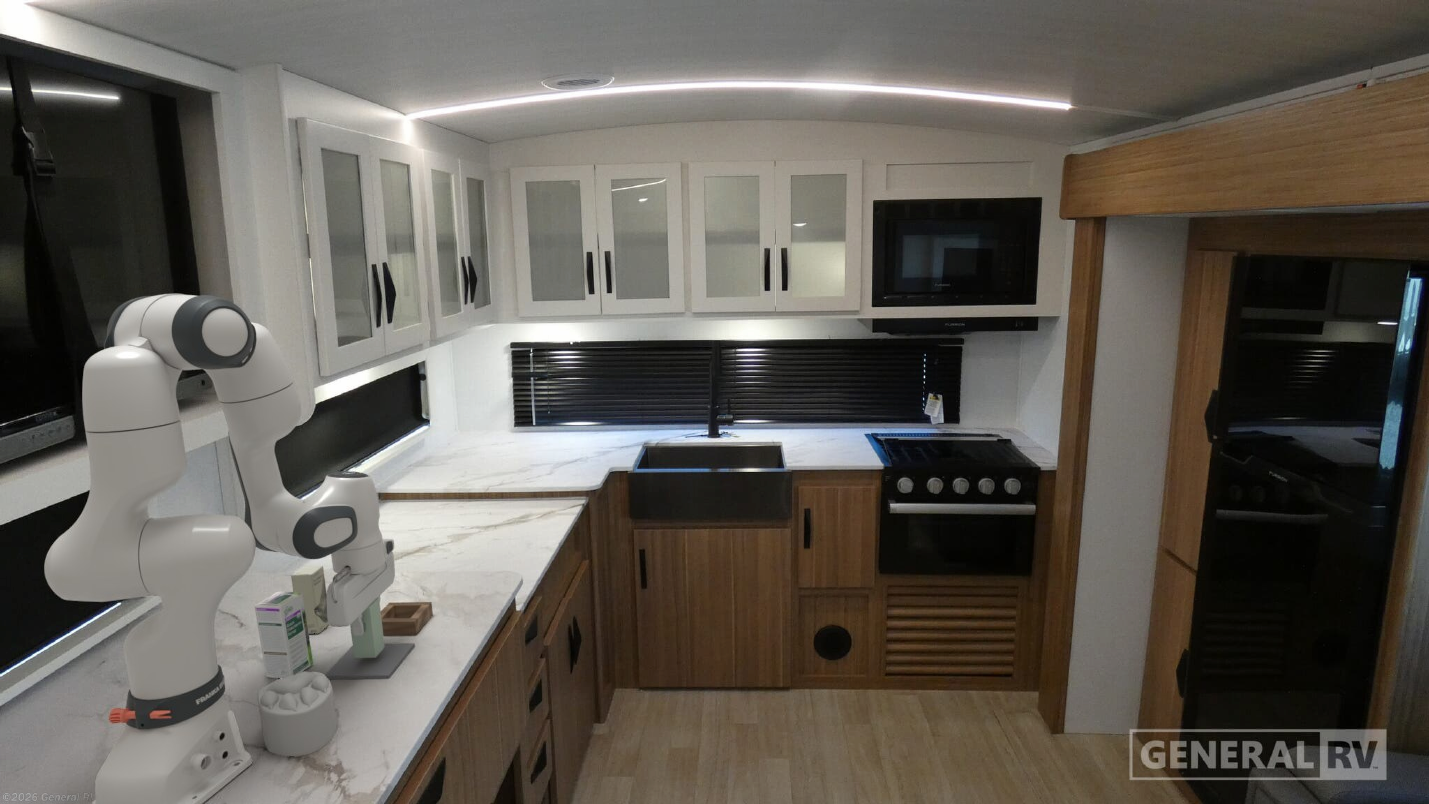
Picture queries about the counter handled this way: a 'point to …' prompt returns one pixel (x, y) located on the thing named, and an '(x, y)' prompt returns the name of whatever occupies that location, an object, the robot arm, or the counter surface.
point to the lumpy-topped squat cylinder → (297, 714)
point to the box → (312, 596)
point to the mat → (370, 663)
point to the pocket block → (405, 618)
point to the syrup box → (284, 634)
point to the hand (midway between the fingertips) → (366, 627)
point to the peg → (369, 633)
